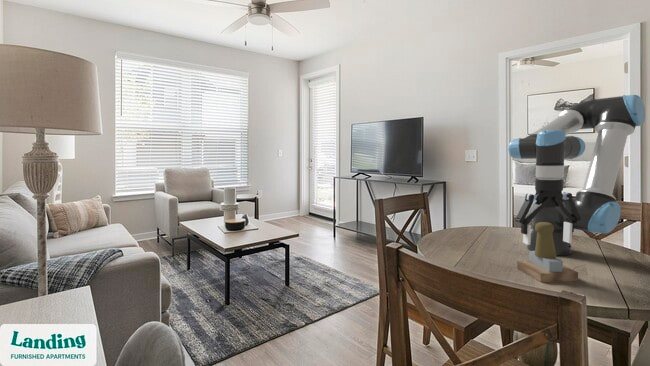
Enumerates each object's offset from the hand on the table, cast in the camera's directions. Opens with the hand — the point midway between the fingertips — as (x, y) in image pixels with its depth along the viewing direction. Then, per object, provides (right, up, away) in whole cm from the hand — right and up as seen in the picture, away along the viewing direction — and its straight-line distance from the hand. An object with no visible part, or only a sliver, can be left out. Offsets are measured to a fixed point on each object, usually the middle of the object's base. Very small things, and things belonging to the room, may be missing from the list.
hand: (546, 243), depth 108 cm
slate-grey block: (0, -8, +1) cm, 8 cm away
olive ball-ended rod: (0, -4, +1) cm, 4 cm away
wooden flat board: (0, -11, +1) cm, 11 cm away
